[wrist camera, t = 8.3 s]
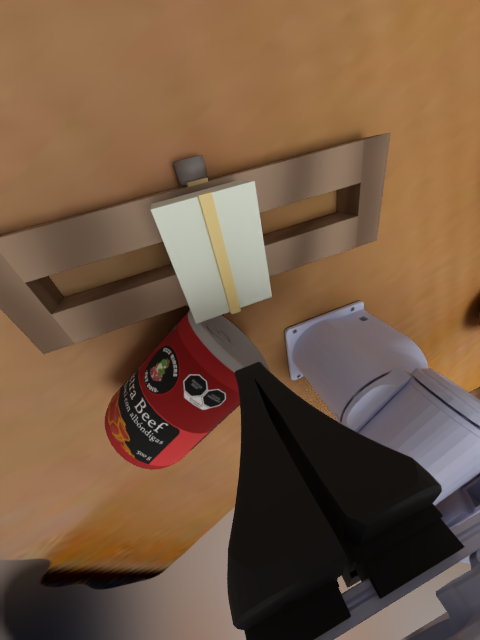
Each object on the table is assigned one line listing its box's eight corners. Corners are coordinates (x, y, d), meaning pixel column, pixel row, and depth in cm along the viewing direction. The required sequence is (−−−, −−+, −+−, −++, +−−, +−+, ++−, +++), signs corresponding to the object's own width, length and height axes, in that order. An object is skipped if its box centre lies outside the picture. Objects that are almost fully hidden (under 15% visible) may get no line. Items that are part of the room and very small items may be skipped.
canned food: (92, 388, 19) (178, 289, 17) (168, 392, 25) (236, 321, 23) (112, 488, 14) (230, 370, 12) (197, 462, 21) (284, 381, 19)
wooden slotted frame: (363, 115, 16) (393, 106, 14) (354, 248, 22) (374, 255, 20) (-43, 217, 13) (-80, 225, 11) (67, 346, 18) (56, 367, 16)
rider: (225, 179, 15) (256, 179, 11) (244, 270, 19) (274, 299, 14) (151, 199, 15) (150, 208, 10) (186, 289, 18) (196, 327, 14)
